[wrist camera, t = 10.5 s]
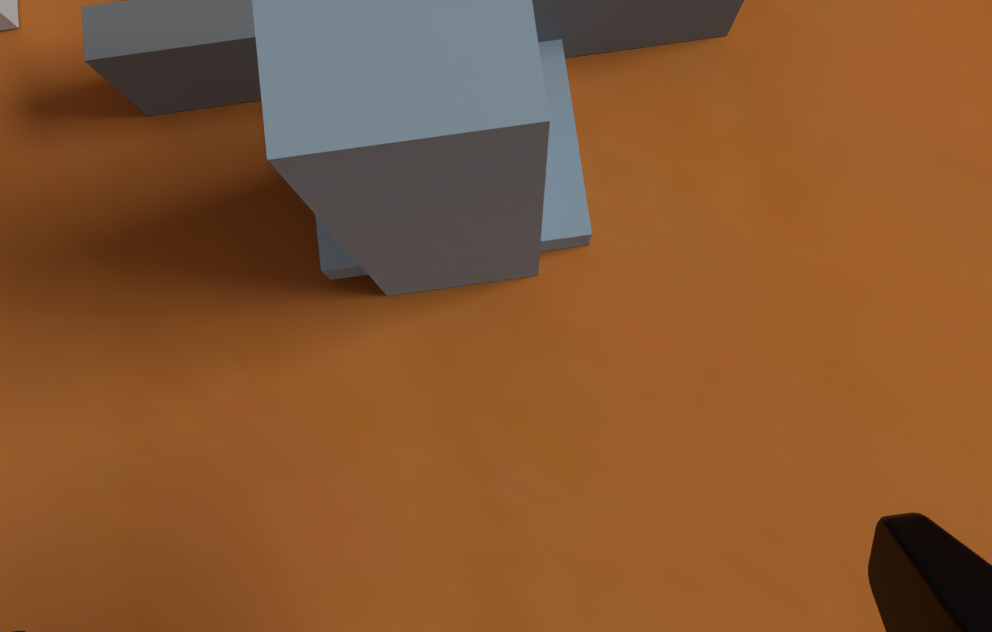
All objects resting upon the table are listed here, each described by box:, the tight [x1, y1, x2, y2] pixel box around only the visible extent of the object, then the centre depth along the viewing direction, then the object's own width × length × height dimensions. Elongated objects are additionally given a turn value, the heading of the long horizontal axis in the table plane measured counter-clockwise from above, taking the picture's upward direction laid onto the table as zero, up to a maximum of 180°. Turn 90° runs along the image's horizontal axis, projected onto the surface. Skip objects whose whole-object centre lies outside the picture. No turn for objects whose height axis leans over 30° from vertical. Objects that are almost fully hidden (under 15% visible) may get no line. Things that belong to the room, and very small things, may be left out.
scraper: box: [81, 0, 744, 296], centre depth 16 cm, size 6×14×10 cm, turn 98°
